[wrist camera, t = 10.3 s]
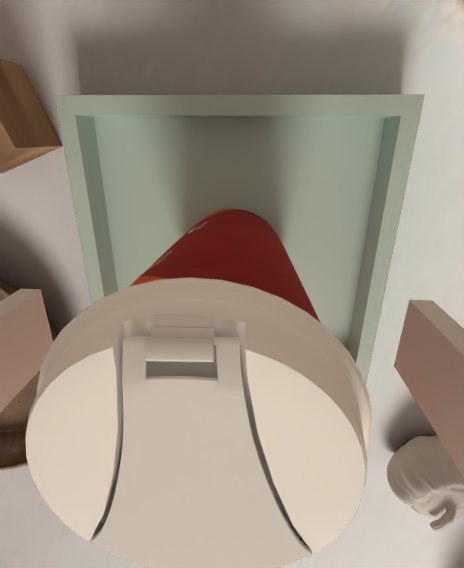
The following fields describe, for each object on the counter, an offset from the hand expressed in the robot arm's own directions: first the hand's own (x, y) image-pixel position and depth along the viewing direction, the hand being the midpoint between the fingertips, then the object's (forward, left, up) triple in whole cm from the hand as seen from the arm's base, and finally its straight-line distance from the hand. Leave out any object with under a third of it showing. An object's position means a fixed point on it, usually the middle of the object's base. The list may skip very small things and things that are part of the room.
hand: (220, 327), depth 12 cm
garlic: (+14, -15, -9) cm, 22 cm away
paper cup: (0, 0, -8) cm, 8 cm away
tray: (0, 0, -9) cm, 9 cm away
